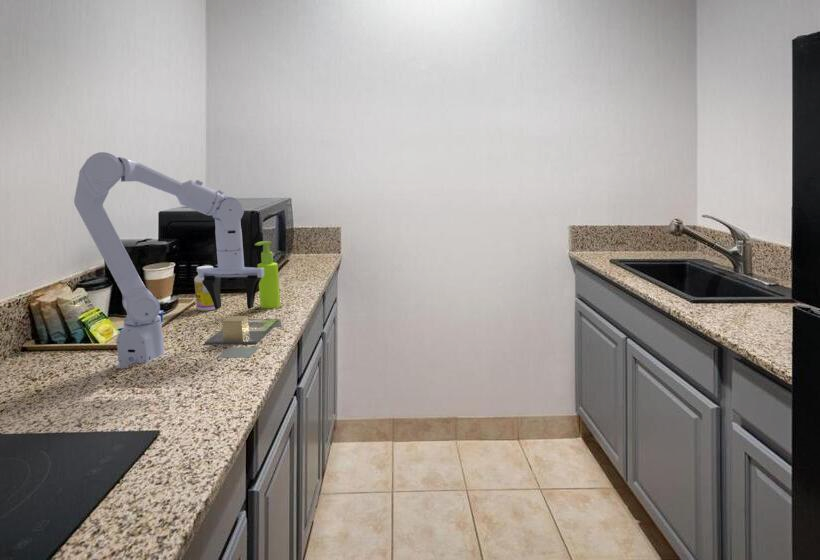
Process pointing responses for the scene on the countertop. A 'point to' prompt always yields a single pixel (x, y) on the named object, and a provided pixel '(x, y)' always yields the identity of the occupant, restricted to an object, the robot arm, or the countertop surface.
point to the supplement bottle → (202, 293)
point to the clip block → (235, 328)
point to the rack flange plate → (254, 334)
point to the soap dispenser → (268, 279)
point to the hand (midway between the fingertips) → (234, 307)
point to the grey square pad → (238, 352)
